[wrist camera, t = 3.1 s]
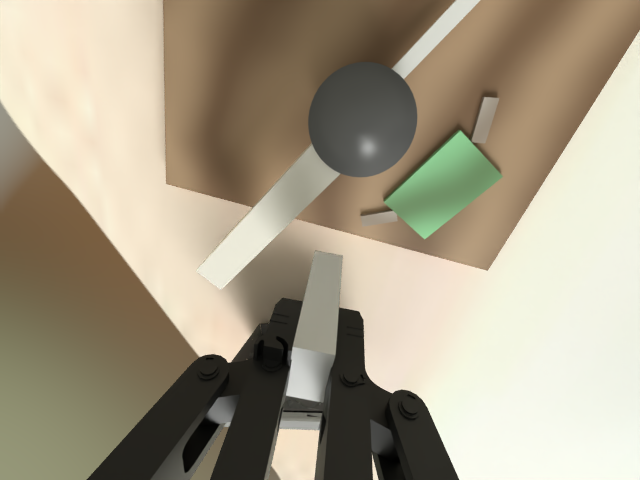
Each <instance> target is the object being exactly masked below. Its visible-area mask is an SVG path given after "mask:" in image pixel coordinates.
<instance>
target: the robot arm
mask: <svg viewBox="0 0 640 480" xmlns="http://www.w3.org/2000/svg"><path fill="white" fill-rule="evenodd" d="M342 259H343V256H342V255H336V254H331V253H325V252H320V251H315V254H314V258H313V262H312V266H311V271H310V275H309V279H308V283H307V288H306V292H305V296H304V300H303V302H302V301H297V300H291V299H286V298H282V299H281V300H280V301H279V302H278V303H277V304H276V305H275V308H274V311H273V314H272V317H271V319H270V322H269V325H268V328H267V331H266V334H264V335H262V336H261V337H259V338H258V339H257V340H256V342H255V343H254V355H253V357H252V358H250V359H247V360H245V361H240V362H231V363H228V362H227V360H226V359H224V358H223V357H222V356H219V355H215V354H211V355H205V356H202V357H200V358H198V359H197V360H196V361H194V362H193V363H192V364H191V365H190V366H189V367H188V368H187V370H186V371H185V372H184V373H183V374H182V375H181V376H180V377H179V378H178V379H177V381H176V382H175V383H174V384H173V385H172V386H171V387H170V388H169V389H168V391H167V392H166V393H165V394H164V395H163V396H162V397H161V398H160V399H159V401H158V402H157V403H156V404H155V405H154V406H153V407H152V408H151V409H150V410H149V411H148V413H147V414H146V415H145V416H144V417H143V418H142V419H141V420H140V422H139V423H138V424H137V425H136V426H135V427H134V428H133V429H132V430H131V431H130V432H129V434H128V435H127V436H126V437H125V438H124V439H123V440H122V442H120V444H119V445H118V446H117V447H116V448H115V449H114V450H113V451H112V452H111V453H110V455H109V456H108V457H107V458H106V459H105V460H104V461H103V462H102V463H101V465H100V466H99V467H98V468H97V469H96V470H95V471H94V472H93V473H92V474H91V476H90V477H89V478H88V479H87V480H190V478H191V477H192V476H193V473H194V472H195V471H196V469H197V467H198V466H199V464H200V463H201V461H202V460H203V458H204V457H205V455H206V454H207V452H208V450H209V449H210V447H211V446H212V444H213V443H214V441H215V440H216V438H217V436H218V435H219V433H220V432H221V430H222V429H223V427H224V425H225V424H226V423H228V422H231V423H230V426H229V429H228V432H227V434H226V437H225V440H224V443H223V445H222V448H221V451H220V454H219V456H218V459H217V462H216V465H215V467H214V470H213V473H212V476H211V479H210V480H268V478H269V473H270V469H271V464H272V459H273V455H274V450H275V445H276V441H277V436H278V432H279V427H280V422H281V418H282V413H283V407H284V401H285V397H286V396H291V397H296V398H301V399H306V400H312V401H317V402H322V403H323V402H324V406H323V412H322V416H321V420H320V424H319V427H318V429H320V432H319V442H318V451H317V461H316V470H315V480H373V472H372V455H373V459H374V463H375V467H376V471H377V475H378V479H379V480H459V478H458V476H457V474H456V472H455V469H454V467H453V465H452V463H451V460H450V458H449V456H448V454H447V451H446V449H445V447H444V445H443V442H442V440H441V438H440V435H439V433H438V431H437V429H436V426H435V424H434V422H433V420H432V417H431V415H430V413H429V411H428V408H427V407H426V405H425V403H424V402H423V400H422V399H421V398H419V397H418V396H417V395H416V394H414V393H412V392H410V391H407V390H398V391H395V392H394V393H393V394H392V393H390V392H388V391H386V390H384V389H382V388H380V387H379V386H377V385H375V384H374V383H373V382H372V381H371V380H370V378H369V377H368V375H367V373H366V370H365V357H364V331H363V330H364V325H363V319H362V317H361V315H360V313H359V311H354V310H349V309H343V308H339V300H340V286H341V273H342Z"/></svg>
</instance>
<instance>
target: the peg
mask: <svg viewBox="0 0 640 480" xmlns="http://www.w3.org/2000/svg"><path fill="white" fill-rule="evenodd" d="M479 1H480V0H455V1H454V2H453V3H452V4H451V6H450V7H449V8H448V9H447V10H446V11H445V12H444V13H443V14H442V15H441V16H440V17H439V18H438V19H437V20H436V22H435V23H434V24H433V25H432V26H431V27H430V28H429V29H428V30H427V31H426V32H425V33H424V34H423V35H422V37H421V38H420V39H419V40H418V41H417V42H416V43H415V44H414V45H413V46H412V47H411V48H410V49H409V50H408V52H407V53H406V54H405V55H404V56H403V57H402V58H401V59H400V60H399V61H398V62H397V63H396V64H395V65H394V66H393V68H392V69H390V68H389V67H387V66H384V65H382V64H378V63H373V62H358V63H353V64H349V65H347V66H344V67H342V68H340V69H338V70H337V71H335V72H334V73H332V74H331V75H330V76H329V77H328V78H327V79H326V80H325V81H324V82H323V83H322V84H321V86H320V87H319V88H318V90H317V92H316V93H315V95H314V98H313V100H312V102H311V106H310V110H309V116H308V129H309V135H310V139H311V142H312V143H311V144H310V145H309V146H308V147H307V148H306V150H305V151H304V152H303V153H302V154H301V155H300V156H299V157H298V158H297V159H296V160H295V162H294V163H293V164H292V165H291V166H290V167H289V168H288V169H287V170H286V171H285V173H284V174H283V175H282V176H281V177H280V178H279V179H278V180H277V181H276V182H275V183H274V185H273V186H272V187H271V188H270V189H269V190H268V191H267V192H266V193H265V194H264V195H263V197H262V198H261V199H260V200H259V201H258V202H257V203H256V204H255V205H254V206H253V207H252V209H251V210H250V211H249V212H248V213H247V214H246V215H245V216H244V217H243V218H242V219H241V221H240V222H239V223H238V224H237V225H236V226H235V227H234V228H233V229H232V230H231V231H230V233H229V234H228V235H227V236H226V237H225V238H224V239H223V240H222V241H221V242H220V243H219V245H218V246H217V247H216V248H215V249H214V250H213V252H212V253H211V254H210V255H209V256H208V257H207V259H206V260H205V261H204V262H203V263H202V264H201V266H200V267H199V268H198V269H197V270H196V272H198V273H199V274H200V275H202V276H203V277H204V278H206V279H207V280H208V281H210V282H211V283H212V284H214V285H215V286H216V287H218V288H219V289H220V290H221V289H222V288H224V287H225V286H226V285H227V284H228V283H229V282H230V281H231V280H232V279H233V278H234V277H235V276H236V275H237V274H238V273H239V272H240V271H241V270H242V269H243V268H244V267H245V266H246V265H247V264H248V263H249V262H250V261H251V260H252V259H253V258H254V257H255V256H256V255H257V254H259V253H260V252H261V251H262V250H263V249H264V248H265V247H266V246H267V245H268V244H269V243H270V242H271V241H272V240H273V239H274V238H275V237H276V236H277V235H278V234H279V233H280V232H281V231H282V230H283V229H284V228H285V227H286V226H287V225H288V224H289V223H290V222H291V221H292V220H294V219H295V218H296V217H297V216H298V215H299V214H300V213H301V212H302V211H303V210H304V209H305V208H306V207H307V206H308V205H309V204H310V203H311V202H312V201H313V200H314V199H315V198H316V197H317V196H318V195H319V194H320V193H321V192H322V191H323V190H324V189H325V188H326V187H327V186H329V185H330V184H331V183H332V182H333V181H334V180H335V179H336V178H337V177H338V176H339V175H340V174H343V175H346V176H351V177H369V176H374V175H377V174H380V173H382V172H384V171H386V170H388V169H389V168H391V167H392V166H394V165H395V164H396V163H397V162H398V161H399V160H400V159H401V158H402V157H403V156H404V154H405V153H406V152H407V150H408V149H409V147H410V145H411V143H412V141H413V138H414V135H415V132H416V127H417V106H416V102H415V98H414V96H413V93H412V91H411V89H410V87H409V86H408V84H407V83H406V81H405V80H404V78H405V77H406V76H407V75H408V74H409V73H410V72H411V71H412V70H413V69H414V68H415V67H416V66H417V65H418V64H419V63H420V62H421V61H422V60H423V59H424V58H425V57H426V56H427V55H428V54H429V53H430V52H431V51H432V50H433V49H434V48H435V47H436V46H437V45H438V44H439V42H440V41H441V40H442V39H443V38H444V37H445V36H446V35H447V34H448V33H449V32H450V31H451V30H452V29H453V28H454V27H455V26H456V25H457V24H458V23H459V22H460V21H461V20H462V19H463V18H464V17H465V16H466V15H467V14H468V13H469V12H470V11H471V10H472V9H473V8H474V6H475V5H476V4H477V3H478V2H479Z"/></svg>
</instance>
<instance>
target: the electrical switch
mask: <svg viewBox="0 0 640 480" xmlns="http://www.w3.org/2000/svg"><path fill="white" fill-rule="evenodd" d="M268 325H269V324H261V328H260V324H259V325H258V327H257V328H256V329H255V331H254V332H253V333H252V335H251V336H250V337H249V339H248V340H247V342H246V343H245V344H244V346H243V347H242V348H241V350H240V351H239V352H238V354H237V355H236V356H235V358H234V359H233V360H232V362H240V361H245V360H247V359H250V358H252V357H253V355H254V343H255V342H256V340H257V339H258V338H259V337H261V336H262V335H264V334H266V331H267V328H268ZM261 332H262V333H261ZM252 339H253V340H252ZM323 406H324V402H323V403H322V402H317V401H312V400H306V399H301V398H296V397H291V396H286V397H285V401H284V407H283V413H282V418H281V422H280V427H279V429H302V430H320V429H318V427H319V424H320V420H321V416H322V412H323ZM230 423H231V422H228V423H226V424H225V425H224V427H229V426H230Z"/></svg>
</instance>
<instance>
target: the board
mask: <svg viewBox="0 0 640 480" xmlns="http://www.w3.org/2000/svg"><path fill="white" fill-rule="evenodd" d="M454 1H455V0H163V18H164V81H165V144H166V184H169V185H172V186H176V187H180V188H184V189H187V190H191V191H195V192H198V193H202V194H206V195H210V196H213V197H217V198H221V199H224V200H228V201H232V202H235V203H239V204H243V205H247V206H250V207H253V206H254V205H255V204H256V203H257V202H258V201H259V200H260V199H261V198H262V197H263V195H264V194H265V193H266V192H267V191H268V190H269V189H270V188H271V187H272V186H273V185H274V183H275V182H276V181H277V180H278V179H279V178H280V177H281V176H282V175H283V174H284V173H285V171H286V170H287V169H288V168H289V167H290V166H291V165H292V164H293V163H294V162H295V160H296V159H297V158H298V157H299V156H300V155H301V154H302V153H303V152H304V151H305V150H306V148H307V147H308V146H309V145H310V144H311V143H312V142H311V139H310V135H309V129H308V116H309V110H310V106H311V102H312V100H313V98H314V95H315V93H316V92H317V90H318V88H319V87H320V86H321V84H322V83H323V82H324V81H325V80H326V79H327V78H328V77H329V76H330V75H331V74H332V73H334V72H335V71H337V70H338V69H340V68H342V67H344V66H347V65H349V64H353V63H358V62H373V63H378V64H382V65H384V66H387V67H389V68H390V69H392V68H393V66H394V65H395V64H396V63H397V62H398V61H399V60H400V59H401V58H402V57H403V56H404V55H405V54H406V53H407V52H408V50H409V49H410V48H411V47H412V46H413V45H414V44H415V43H416V42H417V41H418V40H419V39H420V38H421V37H422V35H423V34H424V33H425V32H426V31H427V30H428V29H429V28H430V27H431V26H432V25H433V24H434V23H435V22H436V20H437V19H438V18H439V17H440V16H441V15H442V14H443V13H444V12H445V11H446V10H447V9H448V8H449V7H450V6H451V4H452V3H453V2H454ZM639 30H640V0H480V1H479V2H478V3H477V4H476V5H475V6H474V8H473V9H472V10H471V11H470V12H469V13H468V14H467V15H466V16H465V17H464V18H463V19H462V20H461V21H460V22H459V23H458V24H457V25H456V26H455V27H454V28H453V29H452V30H451V31H450V32H449V33H448V34H447V35H446V36H445V37H444V38H443V39H442V40H441V41H440V42H439V44H438V45H437V46H436V47H435V48H434V49H433V50H432V51H431V52H430V53H429V54H428V55H427V56H426V57H425V58H424V59H423V60H422V61H421V62H420V63H419V64H418V65H417V66H416V67H415V68H414V69H413V70H412V71H411V72H410V73H409V74H408V75H407V76H406V77H405V78H404V80H405V81H406V83H407V84H408V86H409V87H410V89H411V91H412V93H413V96H414V98H415V102H416V106H417V127H416V132H415V135H414V138H413V141H412V143H411V145H410V147H409V149H408V150H407V152H406V153H405V154H404V156H403V157H402V158H401V159H400V160H399V161H398V162H397V163H396V164H395V165H394V166H392V167H391V168H389V169H388V170H386V171H384V172H382V173H380V174H377V175H374V176H369V177H351V176H346V175H343V174H340V175H339V176H338V177H337V178H336V179H335V180H334V181H333V182H332V183H331V184H330V185H329V186H327V187H326V188H325V189H324V190H323V191H322V192H321V193H320V194H319V195H318V196H317V197H316V198H315V199H314V200H313V201H312V202H311V203H310V204H309V205H308V206H307V207H306V208H305V209H304V210H303V211H302V212H301V213H300V214H299V215H298V216H297V217H296V218H295V219H298V220H302V221H306V222H310V223H313V224H317V225H321V226H324V227H328V228H332V229H335V230H339V231H343V232H347V233H350V234H354V235H358V236H361V237H365V238H369V239H372V240H376V241H380V242H384V243H387V244H391V245H395V246H398V247H402V248H406V249H410V250H413V251H417V252H421V253H424V254H428V255H432V256H435V257H439V258H443V259H447V260H450V261H454V262H458V263H461V264H465V265H469V266H473V267H476V268H480V269H484V270H487V271H488V269H489V268H490V266H491V264H492V263H493V261H494V260H495V258H496V257H497V255H498V253H499V252H500V250H501V249H502V247H503V245H504V244H505V242H506V241H507V239H508V238H509V236H510V234H511V233H512V231H513V230H514V228H515V226H516V225H517V223H518V222H519V220H520V219H521V217H522V215H523V214H524V212H525V211H526V209H527V208H528V206H529V204H530V203H531V201H532V200H533V198H534V196H535V195H536V193H537V192H538V190H539V189H540V187H541V185H542V184H543V182H544V181H545V179H546V177H547V176H548V174H549V173H550V171H551V170H552V168H553V166H554V165H555V163H556V162H557V160H558V158H559V157H560V155H561V154H562V152H563V151H564V149H565V147H566V146H567V144H568V143H569V141H570V139H571V138H572V136H573V135H574V133H575V132H576V130H577V128H578V127H579V125H580V124H581V122H582V120H583V119H584V117H585V116H586V114H587V113H588V111H589V109H590V108H591V106H592V105H593V103H594V102H595V100H596V98H597V97H598V95H599V94H600V92H601V90H602V89H603V87H604V86H605V84H606V83H607V81H608V79H609V78H610V76H611V75H612V73H613V71H614V70H615V68H616V67H617V65H618V64H619V62H620V60H621V59H622V57H623V56H624V54H625V52H626V51H627V49H628V48H629V46H630V45H631V43H632V41H633V40H634V38H635V37H636V35H637V33H638V32H639Z"/></svg>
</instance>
